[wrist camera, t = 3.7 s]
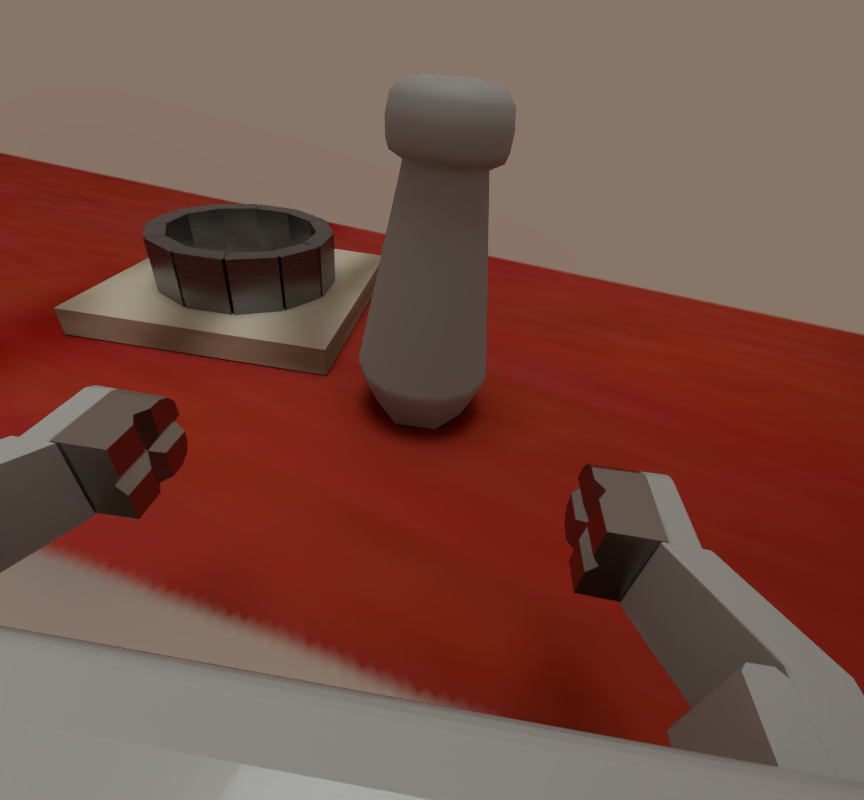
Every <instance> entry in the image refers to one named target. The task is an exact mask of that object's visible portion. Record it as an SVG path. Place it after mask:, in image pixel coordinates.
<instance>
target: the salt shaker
mask: <svg viewBox="0 0 864 800" xmlns="http://www.w3.org/2000/svg"><path fill="white" fill-rule="evenodd" d="M515 115H516V106H515V104H514V102H513V101H512V98H511V96H510V95H509V93H508V91H507V90H505V89H503V88H502V87H500V86H499V85H497V84H495V83H492V82H489V81H485V80H480V79H473V78H467V77H459V76H452V75H442V74H434V73H419V74H414V75H410V76H407V77H403V78H401V79H400V80H399V81H397V83H396V84H395V85H394V86H393V87H392V88H391V89H390V90H389V94H388V99H387V104H386V110H385V138H386V142H387V145H388V149H389V150H391V151H393V152H394V153H395V154H396V155H398V156H399V157H401V158H402V163H401V168H400V172H399V177H398V182H397V186H396V191H395V195H394V200H393V204H392V209H391V213H390V218H389V222H388V227H387V232H386V236H385V241H384V245H383V250H382V254H381V259H380V263H379V268H378V273H377V277H376V282H375V286H374V291H373V295H372V300H371V304H370V309H369V314H368V318H367V323H366V327H365V332H364V336H363V341H362V345H361V350H360V354H359V362H360V367H361V370H362V372H363V374H364V377H365V379H366V381H367V384H368V385H369V387H370V388H371V390H372V392H373V394H374V396H375V398H376V400H377V402H378V403H379V404H380V406H381V407H382V408H383V409H384V411H385V412H386V413H387V414H388V415H389V417H390V418H391V419H392V420H393V422H394V423H395V424H401V425H408V426H415V427H421V428H428V429H436V428H438V427H439V426H441V425H443V424H444V423H446V422H448V421H450V420H451V419H453V418H455V417H456V416H458V415H460V414H461V413H462V412H463V410H464V409H465V408H466V406H467V405H468V404H469V403H470V401H471V400H472V399H473V397H474V396H475V395H476V393H477V392H478V391H479V390H480V388H481V387H482V385H483V383H484V380H485V378H486V338H487V277H488V216H489V213H488V211H489V170H492V169H494V168H497V167H499V166H502V165H504V164H505V163H506V161H507V159H508V156H509V154H510V151H511V146H512V142H513V137H514V133H515Z"/></svg>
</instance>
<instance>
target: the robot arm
mask: <svg viewBox="0 0 864 800" xmlns="http://www.w3.org/2000/svg"><path fill="white" fill-rule="evenodd" d="M178 416H179V412H178V409H177V407H176V404H175V401H173V400H171V399H169V398H166V397H161V396H155V395H150V394H144V393H139V392H133V391H128V390H122V389H114V388H108V387H103V386H98V385H94V386H90V387H85V388H84V389H83V390H81V391H80V392H79V393H77V394H76V395H75V396H73V397H72V398H71V399H69V400H68V401H67V402H65V403H64V404H63V405H61V406H60V407H59V408H57V409H56V410H55V411H53V412H52V413H51V414H49V415H48V416H47V417H45V418H44V419H43V420H41V421H40V422H39V423H37V424H36V425H35V426H33V427H32V428H31V429H29V430H28V431H27V432H25V433H24V434H23V435H21V436H20V437H15V436H9V437H6V438H3V439H0V572H2V571H4V570H6V569H7V568H9V567H11V566H12V565H14V564H15V563H17V562H19V561H20V560H22V559H24V558H25V557H27V556H29V555H30V554H32V553H34V552H35V551H37V550H39V549H40V548H42V547H44V546H45V545H47V544H49V543H50V542H52V541H54V540H55V539H57V538H59V537H60V536H62V535H64V534H65V533H67V532H69V531H70V530H72V529H74V528H75V527H77V526H79V525H80V524H82V523H84V522H85V521H87V520H89V519H90V518H92V517H94V516H95V515H96V514H95V513H99V514H106V515H114V516H121V517H128V518H135V519H139V518H140V517H141V516H142V515H143V514H144V512H145V511H146V510H147V509H148V507H149V506H150V505H151V504H152V502H153V501H154V500H155V499H156V498H157V496H158V495H159V494H160V493H161V491H160V483H161V482H163V481H165V480H167V479H169V478H171V477H173V476H174V475H175V474H176V473H177V471H178V470H179V469H180V467H181V466H182V465H183V462H184V459H185V456H186V454H187V437H186V434H185V431H184V430H183V429H182V428H181V427H180V426H179V425H178V424H177V423H176V422H175V420H176V419H177V417H178ZM578 480H579V485H580V489H578V490H576V491H575V492H573V493H571V496H570V499H569V501H568V504H567V508H566V514H565V535H566V541H567V542H568V543H569V544H570V545H571V547H572V548H573V549H574V551H573V553H572V555H571V558H570V560H569V564H570V570H571V577H572V584H573V590H574V593H578V594H583V595H588V596H593V597H598V598H603V599H608V600H613V601H618V602H620V605H621V607H622V608H623V610H624V611H625V613H626V614H627V616H628V617H629V618H630V620H631V621H632V623H633V624H634V626H635V627H636V628H637V630H638V631H639V633H640V634H641V636H642V637H643V639H644V640H645V641H646V643H647V644H648V646H649V647H650V649H651V650H652V651H653V653H654V654H655V656H656V657H657V659H658V660H659V661H660V663H661V664H662V666H663V667H664V669H665V670H666V672H667V673H668V674H669V676H670V677H671V679H672V680H673V682H674V683H675V684H676V686H677V687H678V689H679V690H680V692H681V693H682V695H683V696H684V697H685V699H686V700H687V702H688V703H689V705H690V706H691V707H692V709H690V710H689V711H688V712H687V713H686V714H685V715H683V716H682V717H681V718H680V719H679V720H678V721H676V722H675V723H674V724H673V725H672V726H671V727H670V729H669V730H668V731H667V733H668V737H669V741H670V745H671V747H666V746H660V745H655V744H649V743H644V742H638V741H633V740H627V739H622V738H616V737H611V736H605V735H600V734H594V733H589V732H583V731H578V730H572V729H567V728H561V727H556V726H550V725H545V724H539V723H534V722H528V721H523V720H517V719H512V718H506V717H501V716H495V715H490V714H484V713H479V712H473V711H468V710H462V709H457V708H451V707H446V706H440V705H435V704H429V703H424V702H418V701H413V700H407V699H402V698H396V697H391V696H385V695H380V694H374V693H369V692H363V691H357V690H352V689H347V688H341V687H336V686H330V685H325V684H319V683H314V682H308V681H302V680H297V679H291V678H285V677H280V676H275V675H270V674H264V673H258V672H253V671H247V670H242V669H236V668H231V667H225V666H220V665H215V664H209V663H204V662H198V661H193V660H187V659H181V658H175V657H171V656H165V655H159V654H154V653H148V652H143V651H137V650H132V649H126V648H121V647H115V646H109V645H104V644H99V643H93V642H88V641H82V640H77V639H71V638H66V637H60V636H55V635H49V634H43V633H38V632H32V631H27V630H21V629H16V628H10V627H5V626H0V800H864V695H863V694H862V692H861V690H860V689H859V687H858V685H857V683H856V682H855V680H854V679H853V678H852V677H851V676H850V675H849V674H848V673H847V672H846V671H845V670H843V669H842V668H841V667H840V666H839V665H838V664H837V663H836V662H835V661H833V660H832V659H831V658H830V657H829V656H828V655H827V654H826V653H825V652H823V651H822V650H821V649H820V648H819V647H818V646H817V645H816V644H815V643H813V642H812V641H811V640H810V639H809V638H808V637H807V636H806V635H805V634H803V633H802V632H801V631H800V630H799V629H798V628H797V627H796V626H795V625H793V624H792V623H791V622H790V621H789V620H788V619H787V618H786V617H785V616H783V615H782V614H781V613H780V612H779V611H778V610H777V609H776V608H775V607H773V606H772V605H771V604H770V603H769V602H768V601H767V600H766V599H765V598H763V597H762V596H761V595H760V594H759V593H758V592H757V591H756V590H755V589H753V588H752V587H751V586H750V585H749V584H748V583H747V582H746V581H745V580H743V579H742V578H741V577H740V576H739V575H738V574H737V573H736V572H735V571H733V570H732V569H731V568H730V567H729V566H728V565H727V564H726V563H725V562H723V561H722V560H721V559H720V558H719V557H718V556H717V555H716V554H715V553H713V552H712V551H711V550H706V549H702V547H701V544H700V542H699V540H698V537H697V535H696V533H695V530H694V528H693V526H692V524H691V521H690V519H689V517H688V514H687V512H686V510H685V507H684V505H683V503H682V500H681V498H680V496H679V494H678V491H677V489H676V487H675V484H674V482H673V480H672V479H671V478H670V477H669V476H668V475H662V474H655V473H648V472H637V471H632V470H625V469H618V468H612V467H605V466H598V465H592V464H586V465H585V466H584V467H583V468H582V470H581V473H580V475H579V477H578Z"/></svg>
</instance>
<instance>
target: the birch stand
mask: <svg viewBox="0 0 864 800" xmlns="http://www.w3.org/2000/svg"><path fill="white" fill-rule="evenodd" d="M334 256H335V282H334V283H333V285H332V286H331V287H330V288H329V290H328V291H327V292H326V293H325V295H324V296H323V297H321V298H320V299H317V300H314V301H311V302H308V303H306V304H303V305H300V306H297V307H295V308H292V309H289V310H285V309H283V311H278V312H266V313H254V314H242V315H235V313H233V314H232V315H228V314H222V313H215V312H209V311H202V310H196V309H189V308H186V307H182V306H181V305H179V304H178V303H176V302H174V301H173V300H171V299H169V298H168V297H166V296H165V295H163V294H161V293H160V292H159V291H158V288H157V285H156V281H155V278H154V274H153V271H152V267H151V264H150V260H149V258H147V259H146V260H144V261H142V262H140V263H138V264H136V265H134V266H132V267H130V268H128V269H127V270H125V271H123V272H121V273H119V274H117V275H115V276H113V277H111V278H109V279H108V280H106V281H104V282H102V283H100V284H98V285H96V286H94V287H92V288H91V289H89V290H87V291H85V292H83V293H81V294H79V295H77V296H75V297H73V298H72V299H70V300H68V301H66V302H64V303H62V304H60V305H58V306H56V307H54V310H55V312H56V314H57V317H58V319H59V321H60V323H61V326H62V328H63V330H64V332H65V334H67V335H74V336H80V337H86V338H93V339H99V340H105V341H112V342H118V343H125V344H131V345H137V346H144V347H150V348H156V349H163V350H169V351H176V352H182V353H188V354H195V355H201V356H207V357H214V358H220V359H226V360H233V361H239V362H246V363H252V364H258V365H265V366H271V367H277V368H284V369H290V370H297V371H303V372H309V373H316V374H322V375H327V373H328V371H329V370H330V368H331V366H332V364H333V363H334V361H335V359H336V357H337V356H338V354H339V352H340V351H341V349H342V347H343V345H344V344H345V342H346V340H347V338H348V337H349V335H350V333H351V331H352V330H353V328H354V326H355V324H356V323H357V321H358V319H359V318H360V316H361V314H362V312H363V311H364V309H365V307H366V305H367V304H368V302H369V300H370V298H371V297H372V295H373V291H374V286H375V282H376V277H377V273H378V268H379V263H380V259H381V256H380V255H373V254H366V253H360V252H353V251H346V250H339V249H334Z"/></svg>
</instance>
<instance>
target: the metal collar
mask: <svg viewBox="0 0 864 800" xmlns="http://www.w3.org/2000/svg"><path fill="white" fill-rule="evenodd" d="M216 205H217V206H216ZM216 205H214V204H213V205H206V206H199V207H192V208H185V209H179V210H176V211H171V212H169V213H166V214H164V215H162V216H159V217H157V218H154V219H152V220H150V221H147V222H146V226H145V230H144V234H143V239H144V243H145V246H146V250H147V253H148V257H149V260H150V264H151V267H152V271H153V274H154V278H155V281H156V285H157V288H158V291H159V292H160V293H161V294H163V295H165V296H166V297H168V298H169V299H171V300H173V301H174V302H176V303H178V304H179V305H181V306H182V307H186V308H189V309H196V310H202V311H209V312H215V313H222V314H228V315H232V314H233V313H235V315H242V314H254V313H266V312H278V311H283V309H285V310H289V309H292V308H295V307H297V306H300V305H303V304H306V303H308V302H311V301H314V300H317V299H320V298H321V297H323V296H324V295H325V293H326V292H327V291H328V290H329V288H330V287H331V286H332V285H333V283H334V282H335V256H334V232H333V231H332V230H331V228H330V227H329V225H328V224H327V223H326V221H325V220H323V219H321V218H318V217H315V216H313V215H310V214H307V213H304V212H301V211H299V210H297V211H296V210H295V209H288V208H280V207H274V206H266V205H258V206H257V204H216Z"/></svg>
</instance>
